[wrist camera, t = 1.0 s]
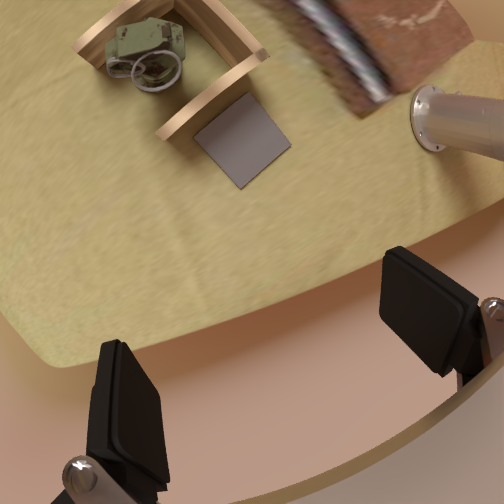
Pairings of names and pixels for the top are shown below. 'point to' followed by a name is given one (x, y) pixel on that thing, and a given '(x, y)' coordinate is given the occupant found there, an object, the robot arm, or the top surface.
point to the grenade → (147, 53)
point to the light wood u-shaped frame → (203, 21)
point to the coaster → (243, 140)
